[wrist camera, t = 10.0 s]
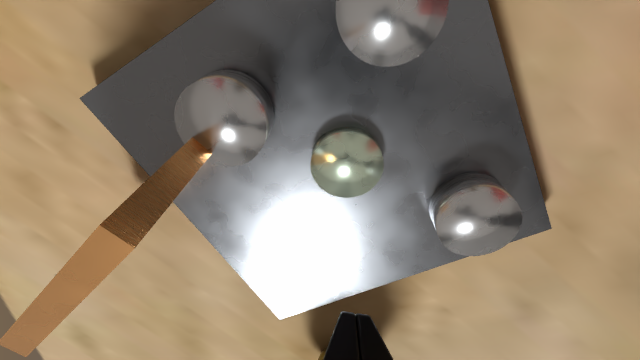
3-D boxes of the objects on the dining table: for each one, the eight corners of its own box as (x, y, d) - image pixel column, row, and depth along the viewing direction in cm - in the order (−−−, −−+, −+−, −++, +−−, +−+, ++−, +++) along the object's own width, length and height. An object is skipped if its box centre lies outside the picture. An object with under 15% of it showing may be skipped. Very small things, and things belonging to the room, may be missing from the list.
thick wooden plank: (225, 49, 16) (110, 103, 8) (291, 114, 17) (249, 215, 9) (102, 198, 20) (-45, 323, 13) (161, 239, 22) (62, 374, 14)
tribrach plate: (432, -147, 13) (459, -190, 10) (538, 214, 21) (571, 250, 18) (97, 91, 19) (50, 109, 16) (282, 304, 27) (275, 343, 24)
